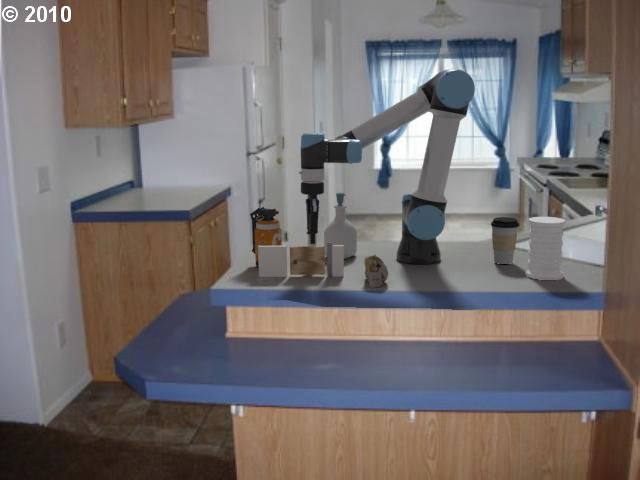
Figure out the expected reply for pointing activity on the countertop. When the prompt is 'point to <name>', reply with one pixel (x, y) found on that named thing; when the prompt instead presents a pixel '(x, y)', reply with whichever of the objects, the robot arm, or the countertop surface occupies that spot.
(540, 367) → the countertop surface
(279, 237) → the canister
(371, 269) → the rock
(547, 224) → the decorative container
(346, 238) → the soap bottle
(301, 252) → the door
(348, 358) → the countertop surface
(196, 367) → the countertop surface
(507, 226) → the coffee cup
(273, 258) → the wall
